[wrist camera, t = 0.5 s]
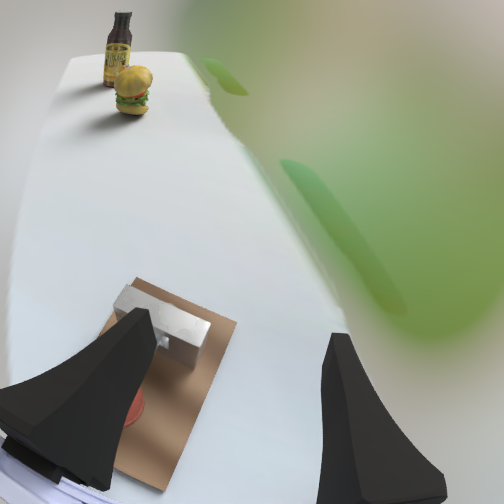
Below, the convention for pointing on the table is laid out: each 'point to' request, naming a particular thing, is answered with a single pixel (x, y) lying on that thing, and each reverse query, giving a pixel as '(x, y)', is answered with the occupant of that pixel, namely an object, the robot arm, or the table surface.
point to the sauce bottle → (117, 47)
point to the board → (169, 398)
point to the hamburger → (132, 89)
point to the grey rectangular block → (168, 325)
